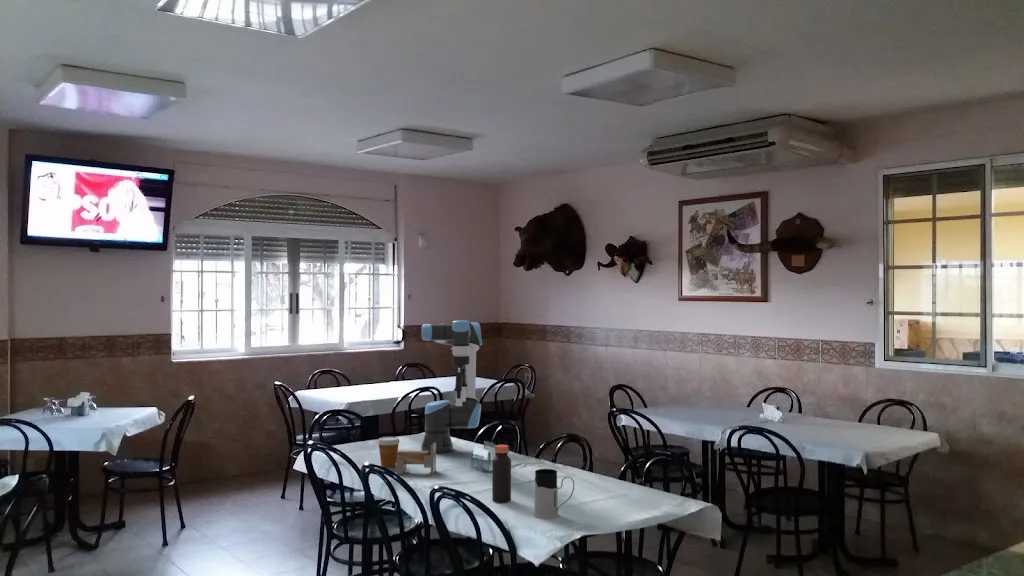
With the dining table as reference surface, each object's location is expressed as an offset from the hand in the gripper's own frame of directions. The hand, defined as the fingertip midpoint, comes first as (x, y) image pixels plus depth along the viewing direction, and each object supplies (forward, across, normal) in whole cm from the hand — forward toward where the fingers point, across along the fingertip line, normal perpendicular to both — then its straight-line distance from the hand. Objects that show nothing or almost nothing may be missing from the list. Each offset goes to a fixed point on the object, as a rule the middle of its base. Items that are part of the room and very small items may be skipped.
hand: (460, 403), depth 344 cm
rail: (+23, +17, -18) cm, 34 cm away
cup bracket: (+27, +17, -11) cm, 34 cm away
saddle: (+27, +17, -23) cm, 39 cm away
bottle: (+27, +58, +22) cm, 68 cm away
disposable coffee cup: (+27, +5, -31) cm, 41 cm away
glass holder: (+27, +76, +41) cm, 90 cm away
